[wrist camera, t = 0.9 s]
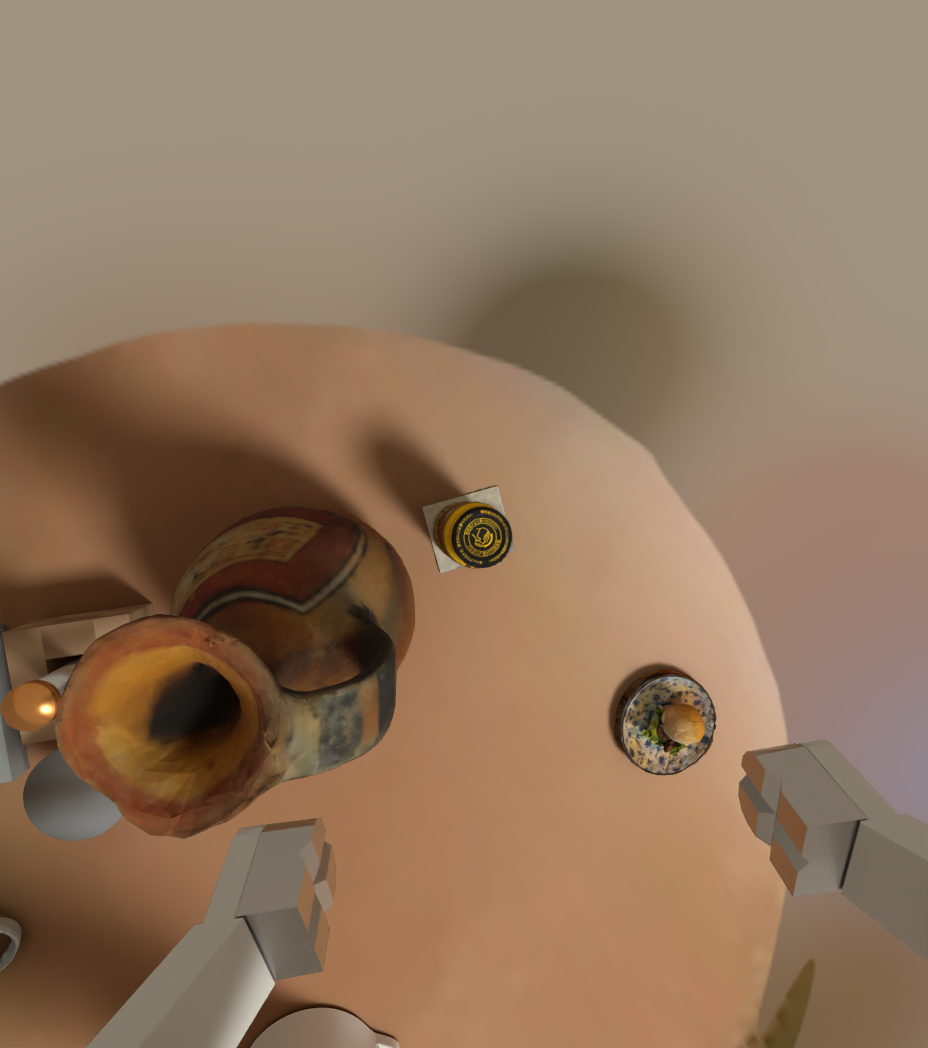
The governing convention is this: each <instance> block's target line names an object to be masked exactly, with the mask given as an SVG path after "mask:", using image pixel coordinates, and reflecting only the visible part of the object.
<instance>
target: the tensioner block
mask: <svg viewBox="0 0 928 1048" xmlns="http://www.w3.org/2000/svg"><path fill="white" fill-rule="evenodd" d="M152 615H154V611H153V605H152V603H149V604H142V605H135V606H128V607H121V608H114V609H107V610H100V611H93V612H86V613H79V614H72V615H65V616H58V617H51V618H44V619H38V620H35V621H32V622H30V623H27V624H24V625H21V626H18V627H16V628H13V629H10V630H7V631H4V632H2V636H3V642H4V647H5V653H6V658H7V664H8V669H9V674H10V680H11V685H12V689H13V688H15V687H17V686H19V685H21V684H23V683H25V682H27V681H31V680H39V679H40V678H42V677H44V676H46V675H48V674H50V673H52V672H54V671H55V670H57V669H59V668H61V667H63V666H65V665H67V664H68V663H70V662H72V661H74V660H76V659H78V658H80V656H79V654H84V652H85V651H86V650H87V648H88V647H89V646H90V645H91V644H92V643H93V642H94V641H95V640H96V639H97V638H99V637H101V636H103V635H104V634H106V633H108V632H110V631H112V630H114V629H115V628H117V627H119V626H121V625H123V624H126V623H129V622H131V621H134V620H136V619H139V618H142V617H146V616H152ZM55 724H56V718H55V719H54V720H52V721H51V722H49V723H48V724H47V725H45V726H44V727H42V728H40V729H38V730H35V731H20V734H21V740H22V745H28V744H34V743H39V742H45V741H50V740H56V732H55ZM23 801H24V807H25V810H26V813H27V815H28V817H29V818H30V820H31V822H32V823H33V824H34V825H35V826H36V827H37V828H38V829H39V830H41V831H42V832H44V833H45V834H47V835H49V836H51V837H54V838H57V839H61V840H68V841H78V840H85V839H89V838H92V837H95V836H98V835H100V834H101V833H103V832H105V831H106V830H108V829H109V828H111V827H112V826H113V825H114V824H115V823H116V822H117V821H118V820H119V819H120V817H121V816H122V814H121V813H120V811H119V810H118V808H117V806H116V804H115V803H114V802H112V801H111V800H110V799H108V798H107V797H106V796H104V795H103V794H101V793H100V792H98V791H97V790H96V789H94V788H93V787H91V786H90V785H88V784H87V783H85V782H84V781H83V780H81V779H80V778H79V777H78V776H77V775H76V774H75V773H74V771H73V770H72V769H71V768H70V767H69V765H68V764H67V763H66V762H65V760H64V758H63V756H62V754H61V752H60V750H59V748H57V749H56V750H54V751H53V752H52V753H50V754H49V755H48V756H47V757H45V758H44V759H43V760H42V761H40V762H39V763H38V764H37V765H36V766H35V767H34V769H33V770H32V771H31V773H30V774H29V776H28V778H27V781H26V783H25V787H24V792H23Z"/></svg>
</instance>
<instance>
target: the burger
mask: <svg viewBox="0 0 928 1048" xmlns="http://www.w3.org/2000/svg"><path fill="white" fill-rule="evenodd" d="M616 713H617V714H616V715H618V717H617V716H616V717H617V718H616V720H617V721H616V722H617V723H616V725H615V724H614V725H615V735H616V738H617V740H618V742H619V743H620V745H621V746H622V748H623V750H624V752H625V753H626V755H627V757H628V758H629V760H630V761H631V762H632V763H633V764H634V765H636V766H638V767H639V768H641V769H642V770H644V771H646V772H648V773H651V774H656V775H673V774H677V773H679V772H681V771H683V770H685V769H686V768H688V767H690V766H691V765H693V764H695V763H697V762H698V760H699V759H700V758H701V757H702V756H704V755H705V754H706V752H707V751H708V750H709V748H710V746H711V744H712V742H713V733H714V730H715V729H716V725H715V721H716V713H715V709H714V705H713V703H712V700H711V699H710V697H709V695H708V693H707V692H706V690H705V689H704V688H703V687H702V686H701V685H700V684H699V683H698V682H696V681H695V680H694V679H693V678H691V677H690V676H687V675H686V674H684V673H682V672H676V671H672V670H671V671H670V670H659V671H654V672H651V673H649V674H646V675H644V676H643V677H641V678H639V679H638V680H636V681H635V682H634V683H633V684H632V685H631V686H630V687H629V688H628V689H627V691H626V692H625V693H624V695H623V696H622V698H621V700H620V702H619V704H618V707H617V711H616Z"/></svg>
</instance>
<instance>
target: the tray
mask: <svg viewBox="0 0 928 1048" xmlns="http://www.w3.org/2000/svg"><path fill="white" fill-rule="evenodd" d="M2 632H4V626H3V624H2V625H0V783H5V782H11V781H13V780H15V779H16V778H17V777H18V776H20V775H21V774H22V773H24V772H25V771H26V770H27V769H29V763H28V758H27V752H26V747H25V745H22V740H21V734H20V731H19V730H16V729H14V728H12V727H11V726H9V725H8V724H7V723H6V722H5V720H4V719H3V717H2V713H1V704H2V701H3V699H4V697H5V695H6V694H7V693H8V692H9V691H10V690H12V685H11V680H10V674H9V669H8V664H7V658H6V653H5V647H4V642H3V636H2Z"/></svg>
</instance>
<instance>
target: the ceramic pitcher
mask: <svg viewBox="0 0 928 1048" xmlns="http://www.w3.org/2000/svg"><path fill="white" fill-rule="evenodd" d="M414 626H415V604H414V594H413V587H412V583H411V580H410V577H409V575H408V572H407V570H406V567H405V565H404V563H403V562H402V560H401V558H400V556H399V555H398V553H397V552H396V550H395V549H394V547H393V546H392V545H391V544H390V543H389V542H388V541H387V540H386V539H385V538H384V537H382V536H381V535H380V534H379V533H378V532H377V531H376V530H374V529H373V528H372V527H370V526H369V525H367V524H366V523H364V522H363V521H361V520H360V519H358V518H356V517H354V516H352V515H350V514H348V513H345V512H343V511H340V510H337V509H333V508H329V507H325V506H319V505H287V506H281V507H276V508H272V509H269V510H265V511H262V512H259V513H256V514H253V515H251V516H249V517H246V518H244V519H242V520H240V521H238V522H236V523H234V524H233V525H231V526H230V527H229V528H227V529H226V530H224V531H223V532H221V533H220V534H219V535H218V536H217V537H216V538H215V539H213V540H212V541H211V542H210V543H209V544H208V545H207V546H206V547H205V548H204V549H203V550H202V551H201V552H200V553H199V555H198V556H197V557H196V558H195V560H194V561H193V562H192V564H191V565H190V567H189V568H188V570H187V571H186V572H185V574H184V575H183V577H182V579H181V580H180V582H179V584H178V587H177V589H176V592H175V595H174V599H173V603H172V607H171V612H170V615H164V614H157V615H152V616H146V617H142V618H139V619H136V620H134V621H131V622H129V623H126V624H123V625H121V626H119V627H117V628H115V629H114V630H112V631H110V632H108V633H106V634H104V635H103V636H101V637H99V638H97V639H96V640H95V641H94V642H93V643H92V644H91V645H90V646H89V647H88V648H87V650H86V651H85V652H84V654H83V655H82V657H81V659H80V660H79V661H78V663H77V664H76V666H75V668H74V669H73V671H72V673H71V675H70V677H69V679H68V681H67V683H66V685H65V688H64V691H63V693H62V696H61V698H60V701H59V704H58V711H57V717H56V724H55V732H56V739H57V746H58V748H59V750H60V752H61V754H62V756H63V758H64V760H65V762H66V763H67V764H68V765H69V767H70V768H71V769H72V770H73V771H74V773H75V774H76V775H77V776H78V777H79V778H80V779H81V780H83V781H84V782H85V783H87V784H88V785H90V786H91V787H93V788H94V789H96V790H97V791H98V792H100V793H101V794H103V795H104V796H106V797H107V798H108V799H110V800H111V801H112V802H114V803H115V804H116V806H117V808H118V810H119V811H120V813H121V814H122V815H123V816H124V817H125V818H126V819H127V820H128V821H130V822H131V823H132V824H134V825H136V826H137V827H139V828H141V829H142V830H143V831H145V832H146V833H148V834H149V835H156V836H173V837H178V838H183V839H185V838H188V837H191V836H193V835H196V834H198V833H200V832H203V831H205V830H207V829H209V828H211V827H214V826H216V825H219V824H222V823H225V822H227V821H229V820H230V819H232V818H234V817H235V816H237V815H238V814H240V813H241V812H242V811H243V810H245V809H246V808H247V807H248V806H249V805H251V804H252V803H253V802H254V801H255V800H256V799H257V798H258V797H259V796H260V795H262V794H263V793H265V792H266V791H268V790H269V789H270V788H272V787H273V786H275V785H277V784H279V783H281V782H284V781H287V780H293V779H300V778H304V777H308V776H312V775H316V774H319V773H323V772H326V771H329V770H333V769H335V768H337V767H339V766H341V765H343V764H345V763H347V762H349V761H351V760H354V759H356V758H358V757H360V756H362V755H364V754H366V753H367V752H368V751H370V750H371V749H372V748H373V747H375V746H376V745H377V744H378V743H379V742H380V740H381V739H382V738H383V736H384V735H385V733H386V732H387V730H388V728H389V726H390V723H391V721H392V718H393V714H394V709H395V698H396V671H397V670H398V668H399V666H400V665H401V663H402V661H403V660H404V658H405V655H406V653H407V651H408V648H409V645H410V642H411V640H412V636H413V631H414Z"/></svg>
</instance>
